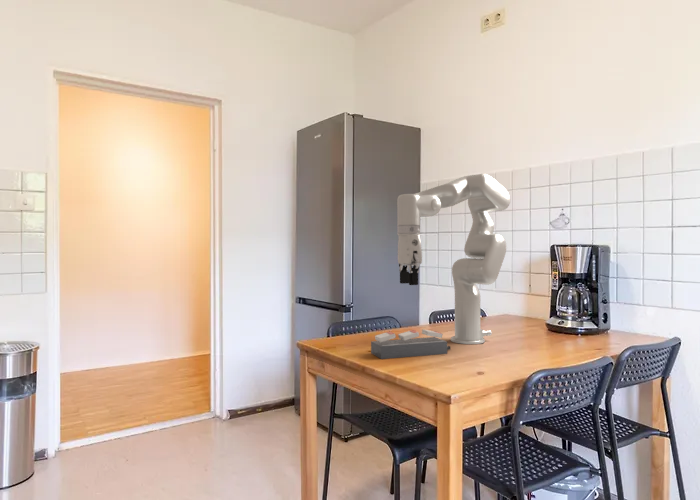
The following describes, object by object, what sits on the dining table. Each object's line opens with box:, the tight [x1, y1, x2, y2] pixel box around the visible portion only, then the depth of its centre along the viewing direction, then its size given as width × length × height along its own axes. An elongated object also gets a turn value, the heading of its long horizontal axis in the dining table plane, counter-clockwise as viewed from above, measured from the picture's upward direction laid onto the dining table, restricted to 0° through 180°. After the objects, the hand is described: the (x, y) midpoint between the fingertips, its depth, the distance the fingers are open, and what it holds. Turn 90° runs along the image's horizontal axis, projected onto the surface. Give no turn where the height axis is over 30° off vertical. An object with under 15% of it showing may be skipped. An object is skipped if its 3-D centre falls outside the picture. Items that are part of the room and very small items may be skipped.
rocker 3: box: [421, 329, 443, 339], centre depth 167 cm, size 6×4×2 cm
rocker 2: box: [397, 329, 420, 341], centre depth 164 cm, size 6×4×2 cm
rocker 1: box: [374, 331, 397, 342], centre depth 161 cm, size 6×4×2 cm
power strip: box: [370, 336, 451, 360], centre depth 165 cm, size 28×9×4 cm, turn 108°
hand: (408, 283), depth 164 cm, fingers open, 6 cm apart
